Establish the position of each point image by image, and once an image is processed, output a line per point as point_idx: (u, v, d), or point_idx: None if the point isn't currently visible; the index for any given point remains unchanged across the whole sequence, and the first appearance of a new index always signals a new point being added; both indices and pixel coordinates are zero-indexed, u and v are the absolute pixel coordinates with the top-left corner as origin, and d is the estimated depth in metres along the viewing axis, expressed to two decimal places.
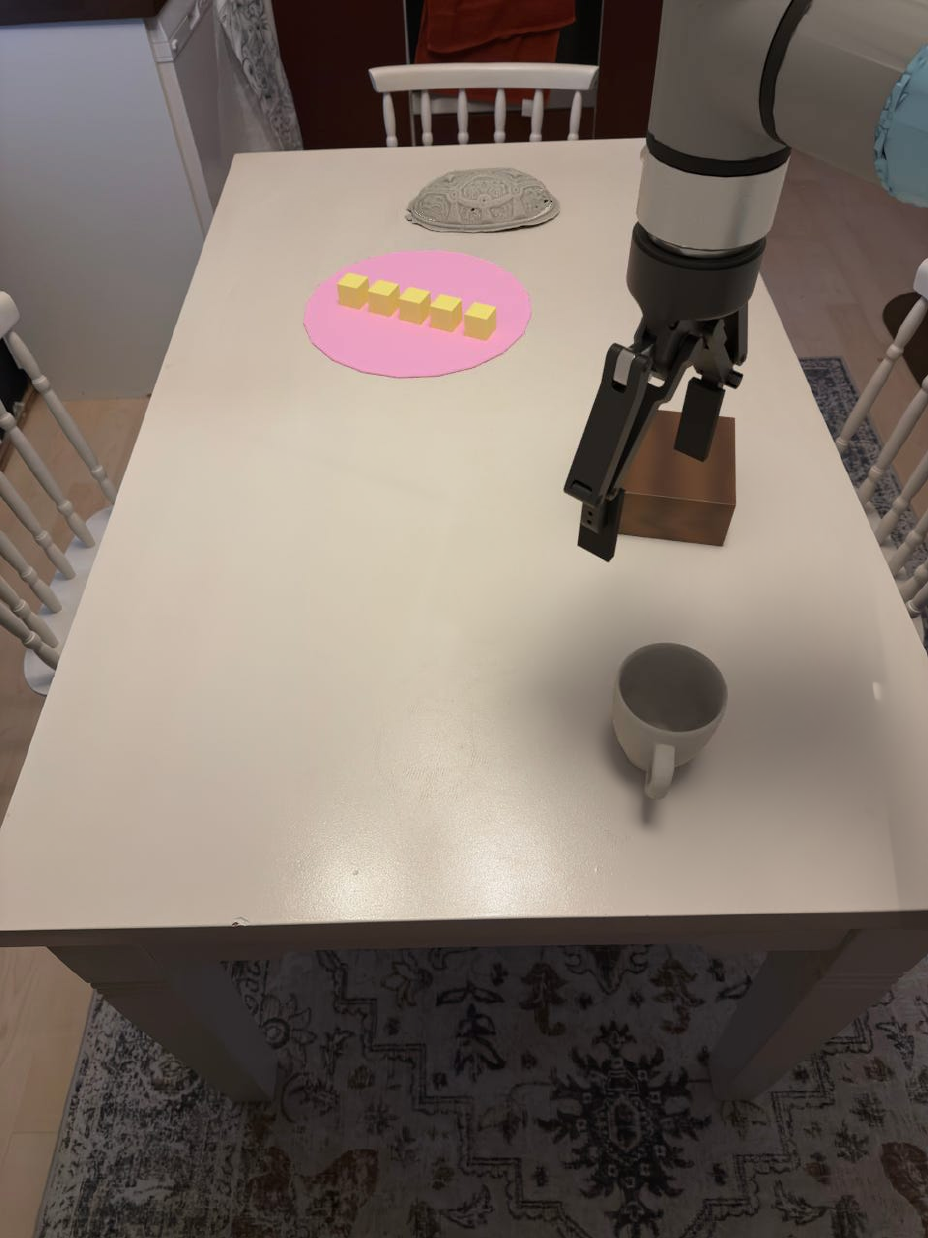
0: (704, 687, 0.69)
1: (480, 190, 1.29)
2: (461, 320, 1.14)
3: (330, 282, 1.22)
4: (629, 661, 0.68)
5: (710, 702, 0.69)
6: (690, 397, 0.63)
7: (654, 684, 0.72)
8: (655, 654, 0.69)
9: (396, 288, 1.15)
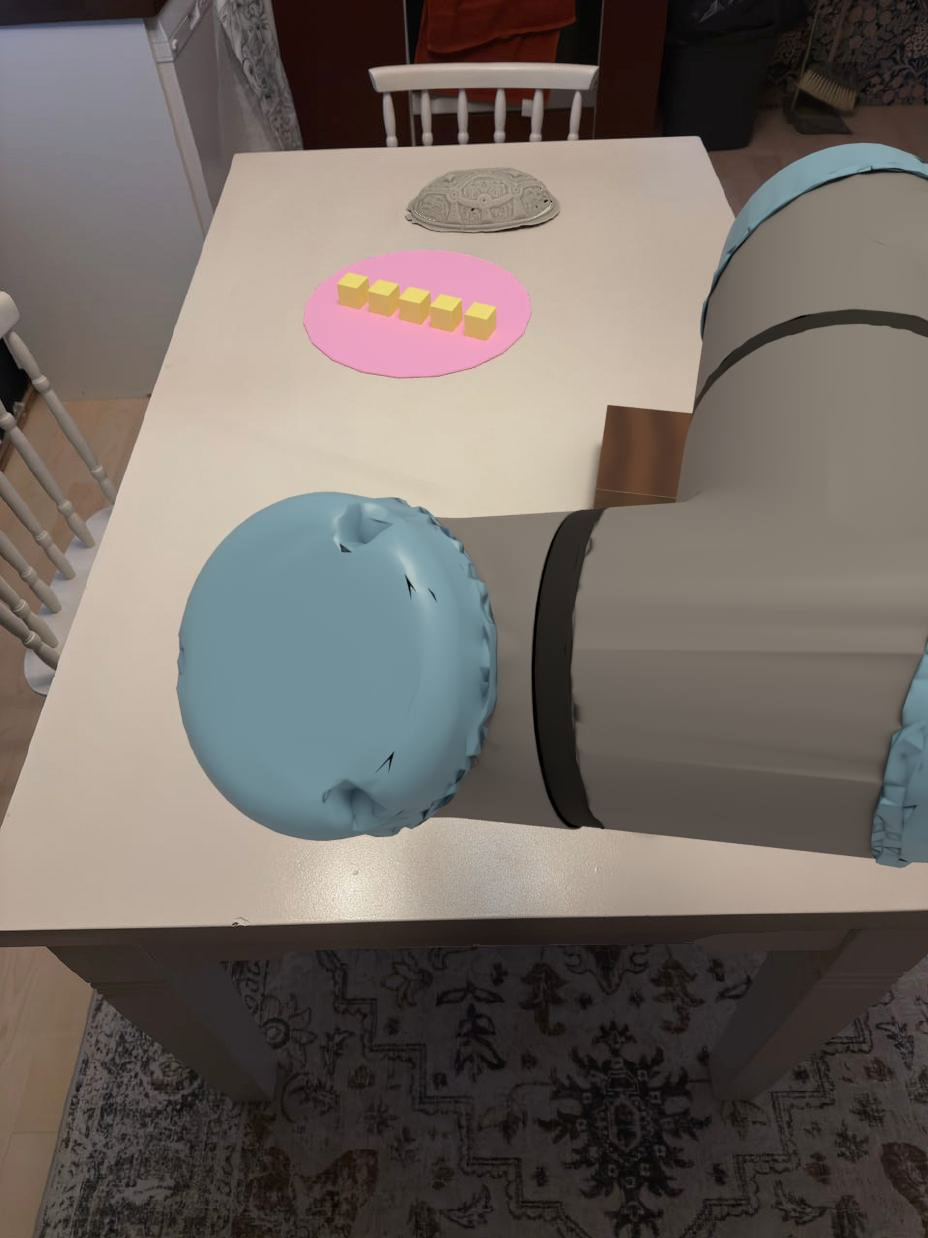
0: None
1: (480, 190, 1.29)
2: (461, 320, 1.14)
3: (330, 282, 1.22)
4: None
5: None
6: None
7: None
8: None
9: (396, 288, 1.15)
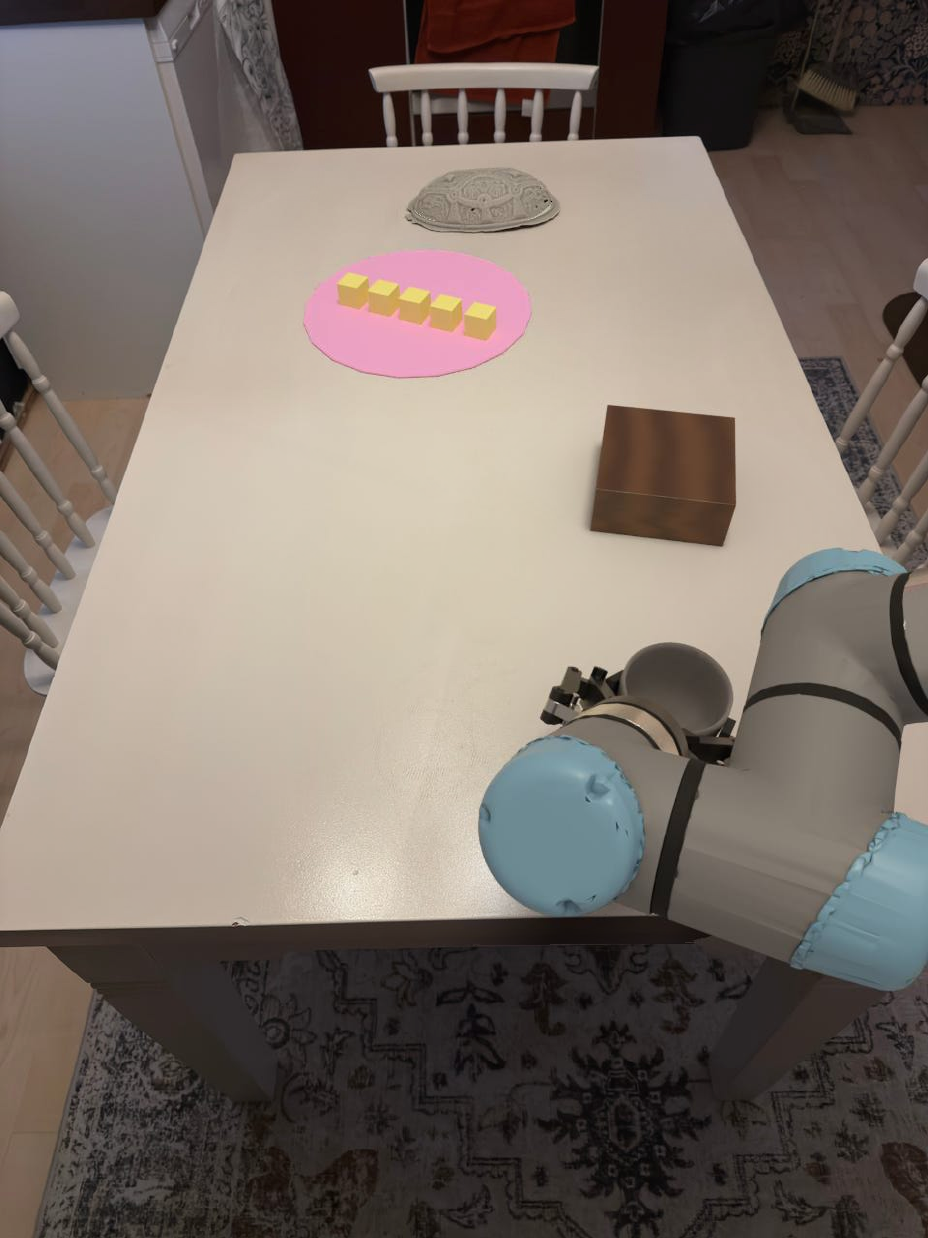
0: (708, 688, 0.69)
1: (480, 190, 1.29)
2: (461, 320, 1.14)
3: (330, 282, 1.22)
4: (635, 659, 0.68)
5: (713, 703, 0.69)
6: None
7: (656, 683, 0.72)
8: (660, 654, 0.69)
9: (396, 288, 1.15)
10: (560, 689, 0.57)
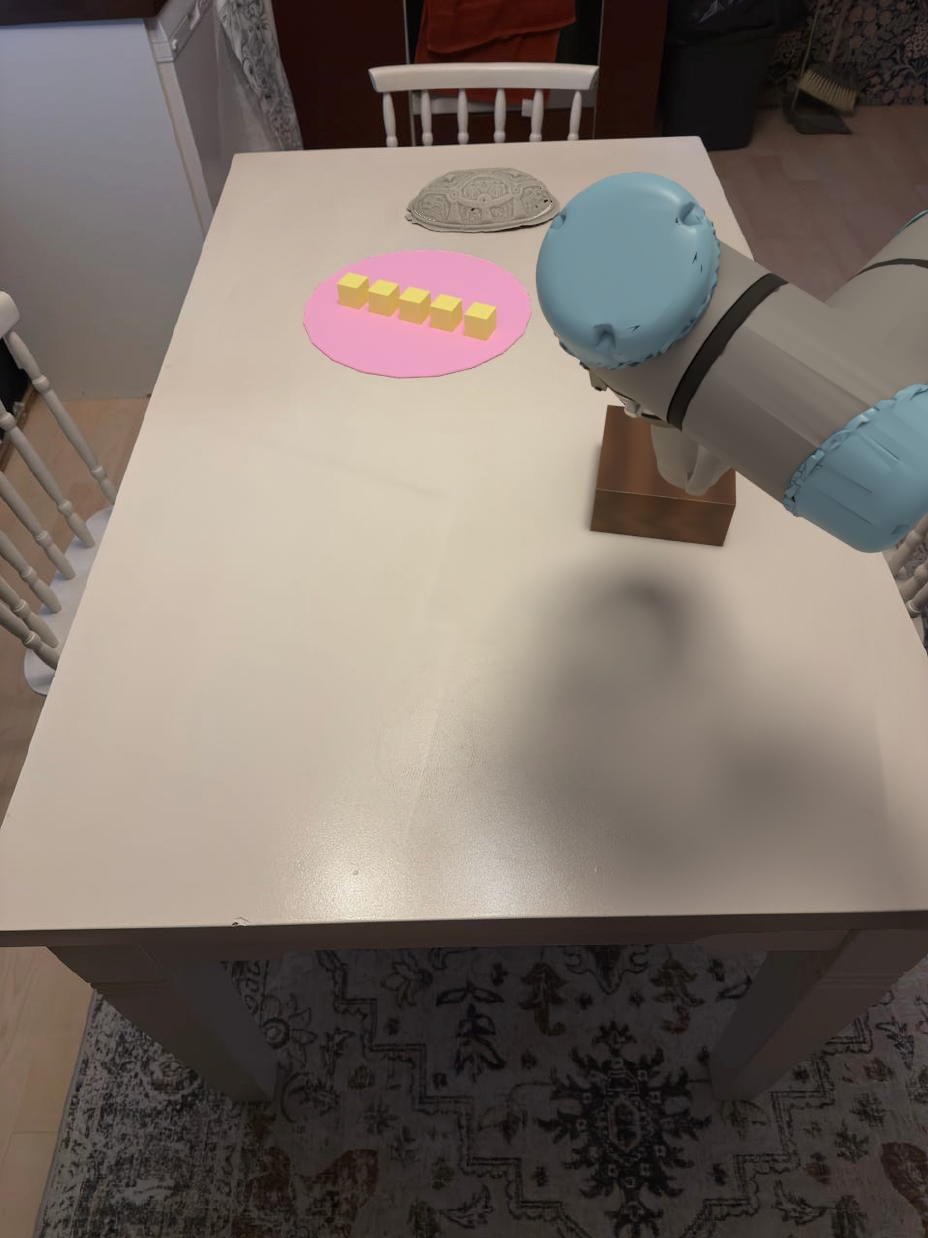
0: None
1: (480, 190, 1.29)
2: (461, 320, 1.14)
3: (330, 282, 1.22)
4: None
5: None
6: None
7: None
8: None
9: (396, 288, 1.15)
10: None
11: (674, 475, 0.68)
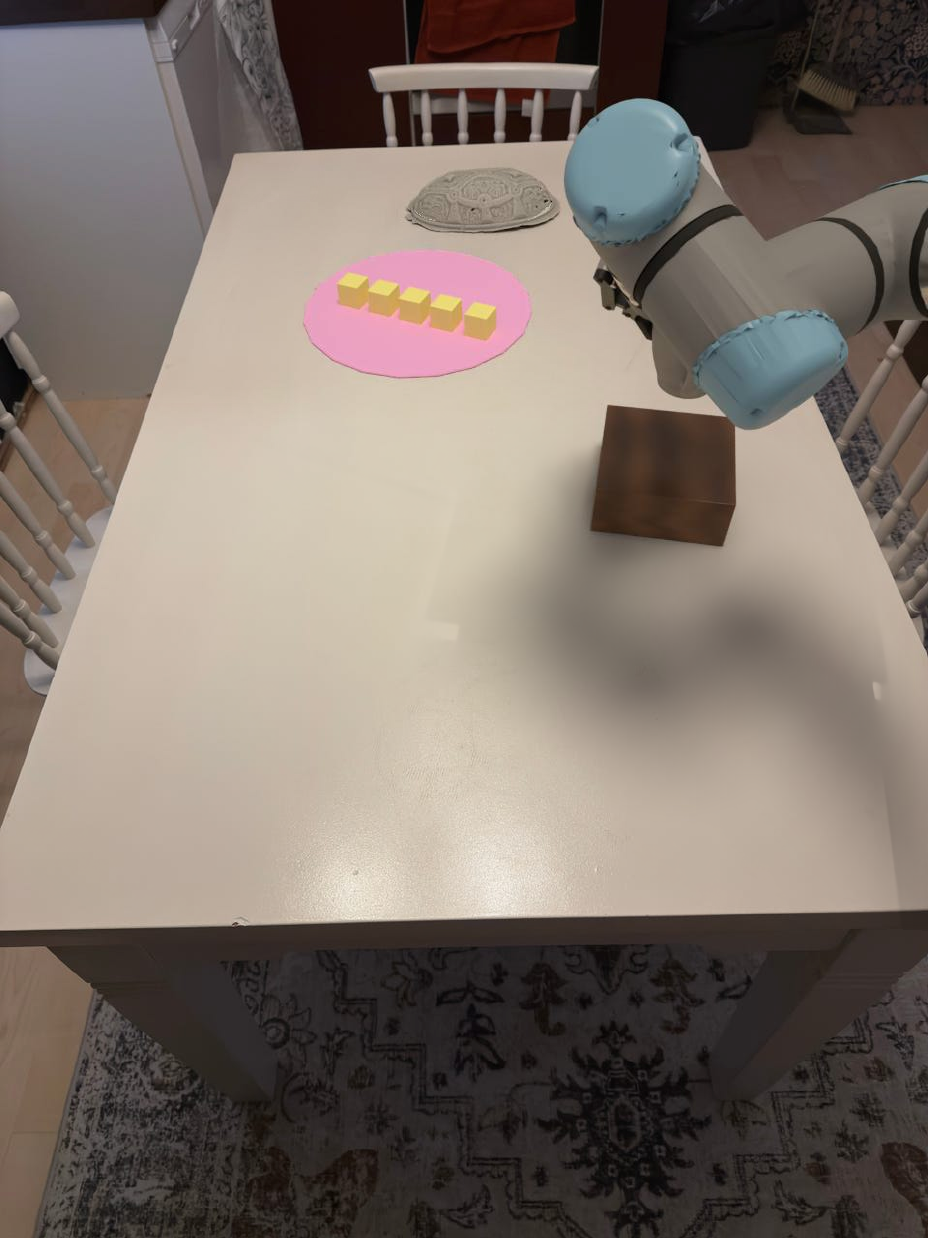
0: None
1: (480, 190, 1.29)
2: (461, 320, 1.14)
3: (330, 282, 1.22)
4: None
5: None
6: (646, 321, 0.78)
7: None
8: None
9: (396, 288, 1.15)
10: None
11: (671, 385, 0.81)
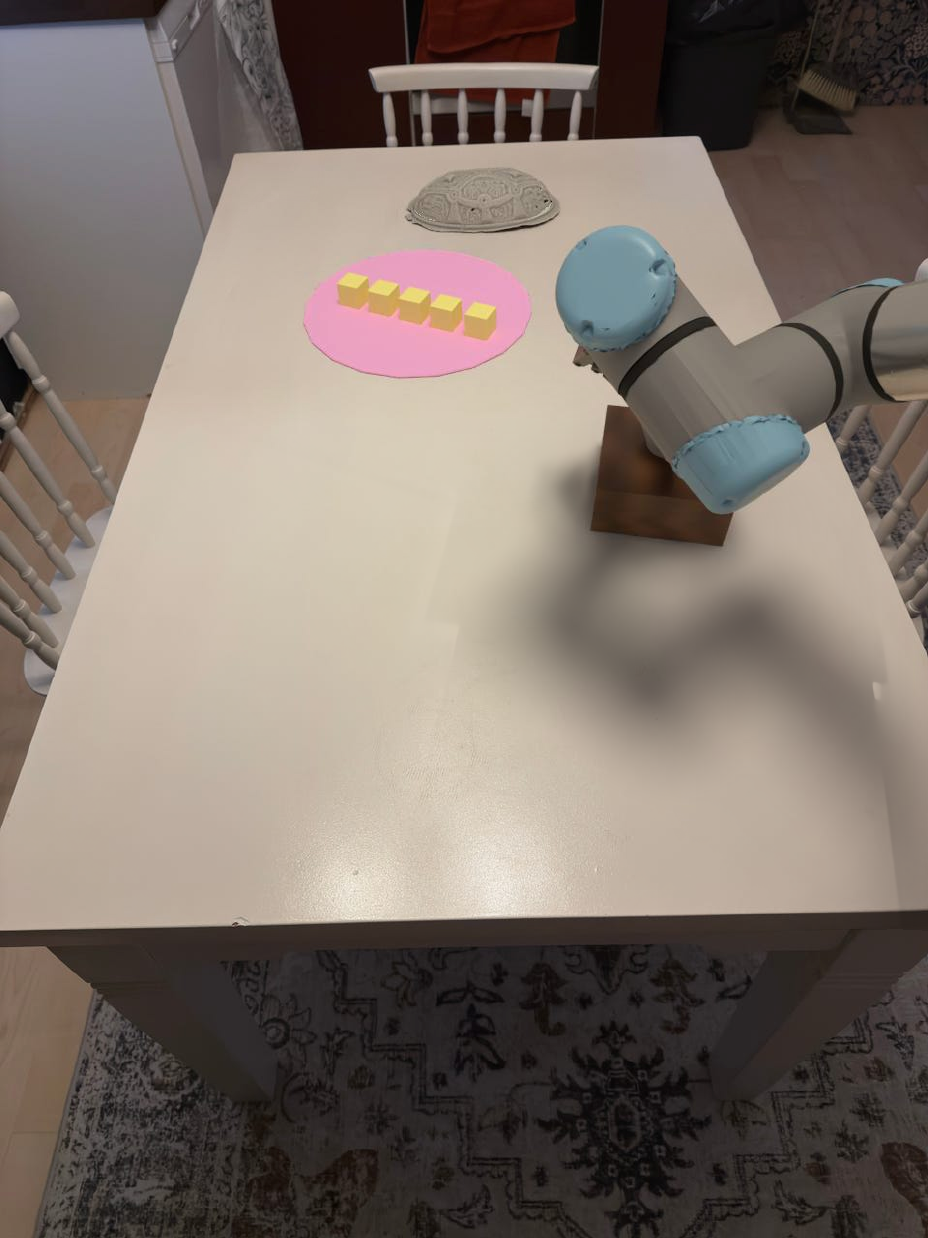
0: None
1: (480, 190, 1.29)
2: (461, 320, 1.14)
3: (330, 282, 1.22)
4: None
5: None
6: None
7: None
8: None
9: (396, 288, 1.15)
10: None
11: (658, 448, 0.87)
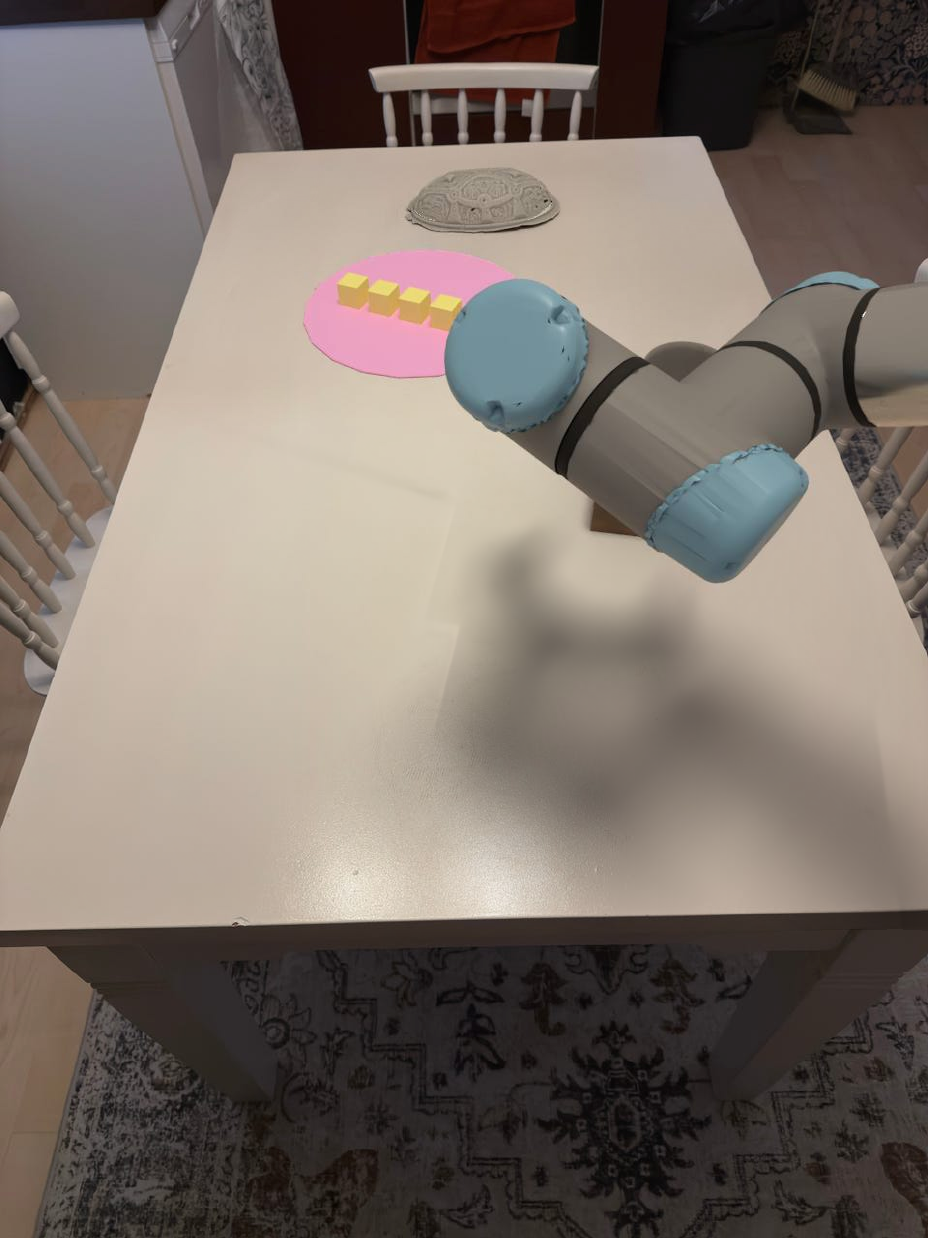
0: None
1: (480, 190, 1.29)
2: None
3: (330, 282, 1.22)
4: (652, 354, 0.84)
5: None
6: None
7: None
8: (673, 354, 0.85)
9: (396, 288, 1.15)
10: None
11: None
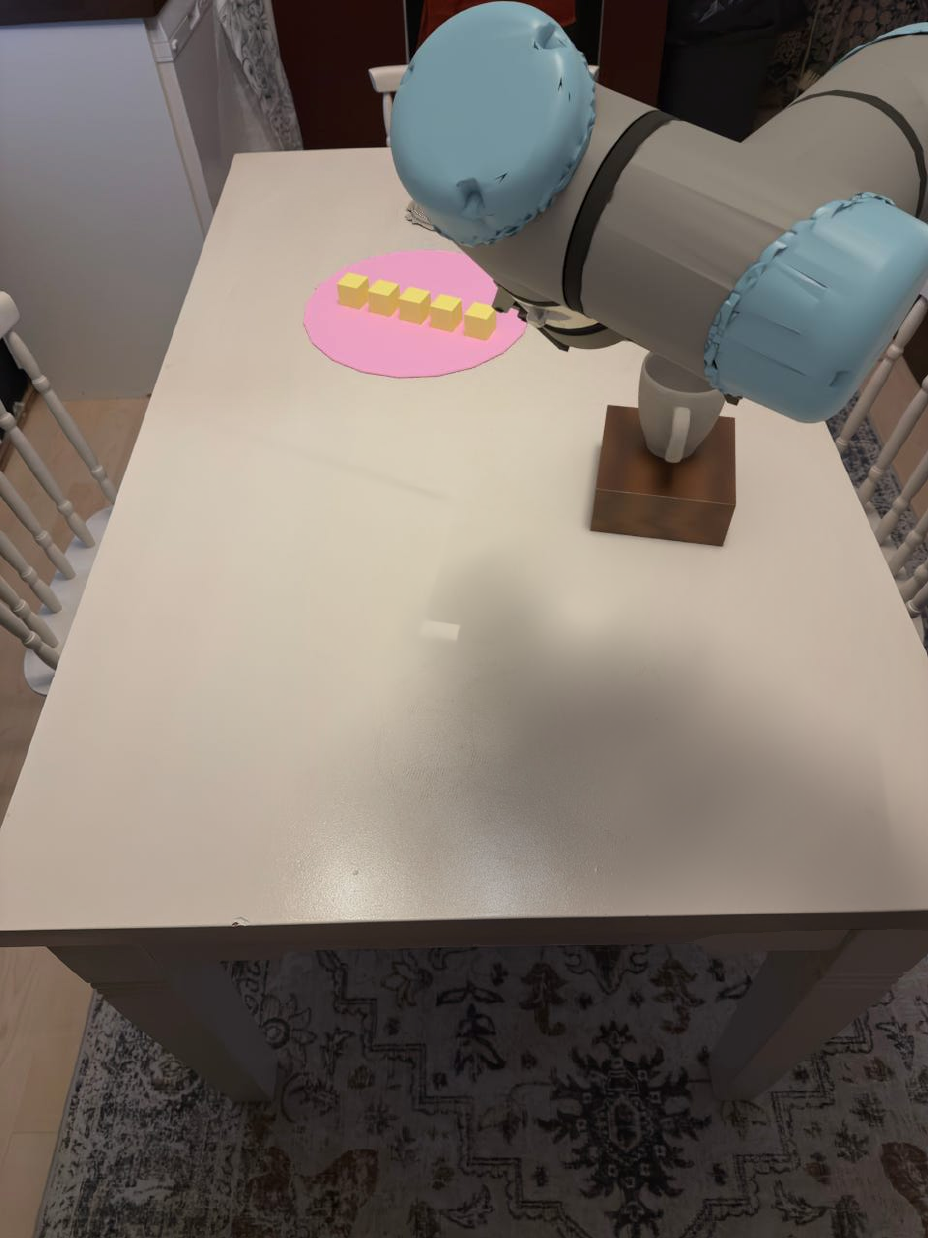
0: None
1: None
2: (461, 320, 1.14)
3: (330, 282, 1.22)
4: (652, 354, 0.84)
5: None
6: None
7: (671, 388, 0.88)
8: None
9: (396, 288, 1.15)
10: None
11: (658, 448, 0.87)
